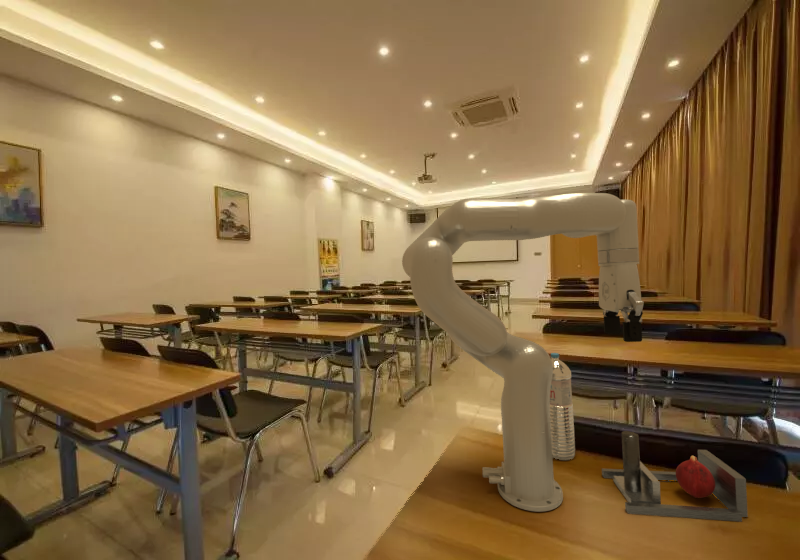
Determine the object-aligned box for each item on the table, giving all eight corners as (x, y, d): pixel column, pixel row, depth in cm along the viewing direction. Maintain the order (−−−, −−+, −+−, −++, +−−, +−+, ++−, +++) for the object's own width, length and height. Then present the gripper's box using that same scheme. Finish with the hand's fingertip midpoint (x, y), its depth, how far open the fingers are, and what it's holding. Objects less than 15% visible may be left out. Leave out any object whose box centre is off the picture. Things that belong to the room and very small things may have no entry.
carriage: (631, 506, 65) (628, 443, 65) (613, 481, 73) (610, 425, 72) (661, 508, 64) (657, 444, 64) (639, 482, 72) (636, 426, 71)
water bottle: (579, 462, 80) (574, 356, 80) (549, 461, 82) (543, 357, 81) (570, 447, 87) (565, 350, 87) (542, 446, 88) (536, 350, 88)
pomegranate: (724, 509, 63) (722, 465, 63) (688, 506, 64) (686, 464, 64) (703, 489, 68) (701, 449, 68) (670, 487, 70) (668, 448, 69)
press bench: (627, 513, 63) (626, 475, 63) (602, 475, 75) (600, 443, 75) (752, 522, 59) (750, 482, 59) (704, 480, 71) (702, 447, 71)
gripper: (585, 261, 83) (589, 331, 83) (616, 257, 66) (620, 345, 66) (619, 259, 82) (622, 330, 82) (659, 255, 65) (664, 345, 65)
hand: (621, 337), depth 74 cm, fingers open, 9 cm apart
